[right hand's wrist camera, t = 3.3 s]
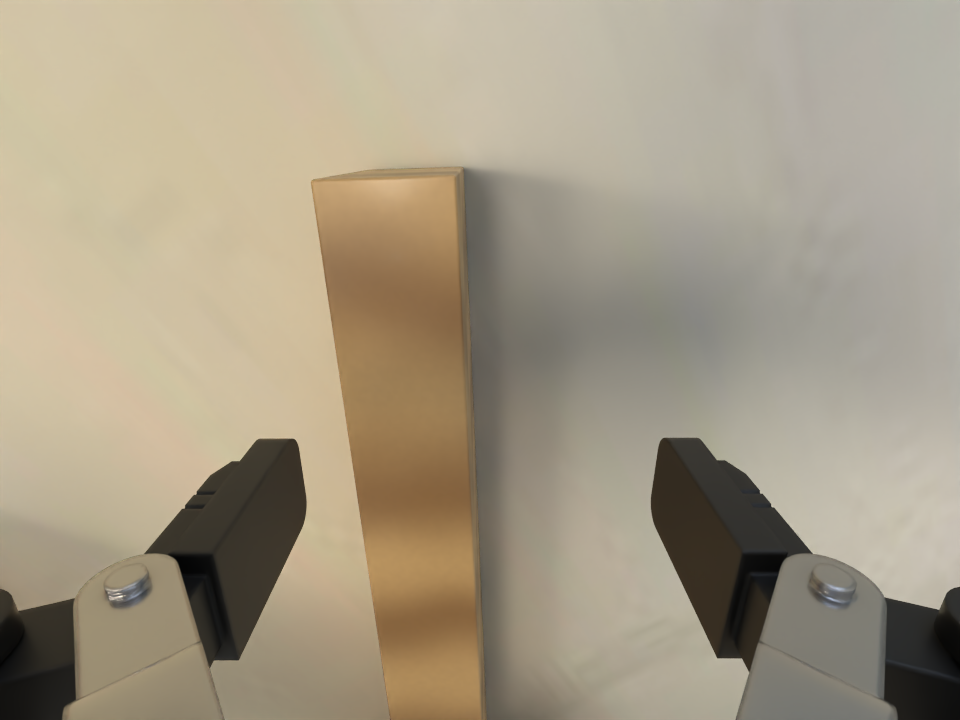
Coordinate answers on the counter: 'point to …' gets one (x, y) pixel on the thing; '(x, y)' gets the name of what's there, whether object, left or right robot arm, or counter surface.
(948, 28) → the counter surface
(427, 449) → the post
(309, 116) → the counter surface
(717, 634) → the right robot arm
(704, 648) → the counter surface
